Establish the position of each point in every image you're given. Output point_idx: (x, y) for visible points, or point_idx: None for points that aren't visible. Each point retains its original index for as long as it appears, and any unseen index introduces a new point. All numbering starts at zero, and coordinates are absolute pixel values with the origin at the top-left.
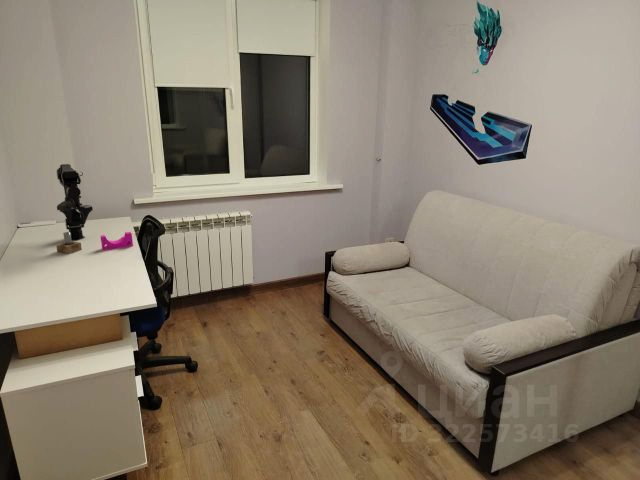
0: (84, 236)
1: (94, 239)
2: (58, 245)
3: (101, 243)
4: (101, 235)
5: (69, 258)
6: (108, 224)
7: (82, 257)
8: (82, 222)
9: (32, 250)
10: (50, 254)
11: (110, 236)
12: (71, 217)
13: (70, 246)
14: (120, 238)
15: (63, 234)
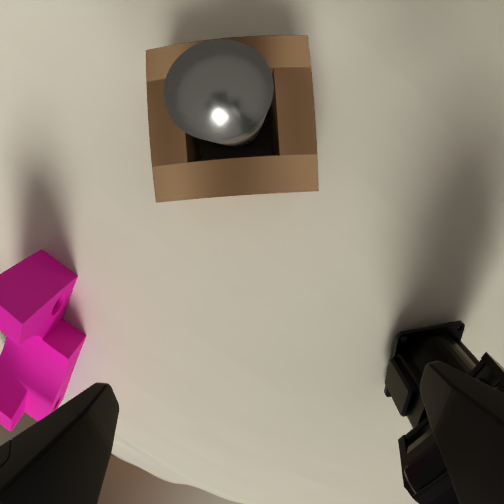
0: (388, 394)
1: (314, 401)
2: (275, 35)
3: (53, 289)
4: (19, 328)
5: (88, 21)
6: (409, 501)
7: (33, 80)
8: (84, 400)
9: (483, 64)
10: (299, 8)
11: (271, 456)
12: (449, 464)
13: (148, 75)
14: (54, 396)
15: (246, 51)
